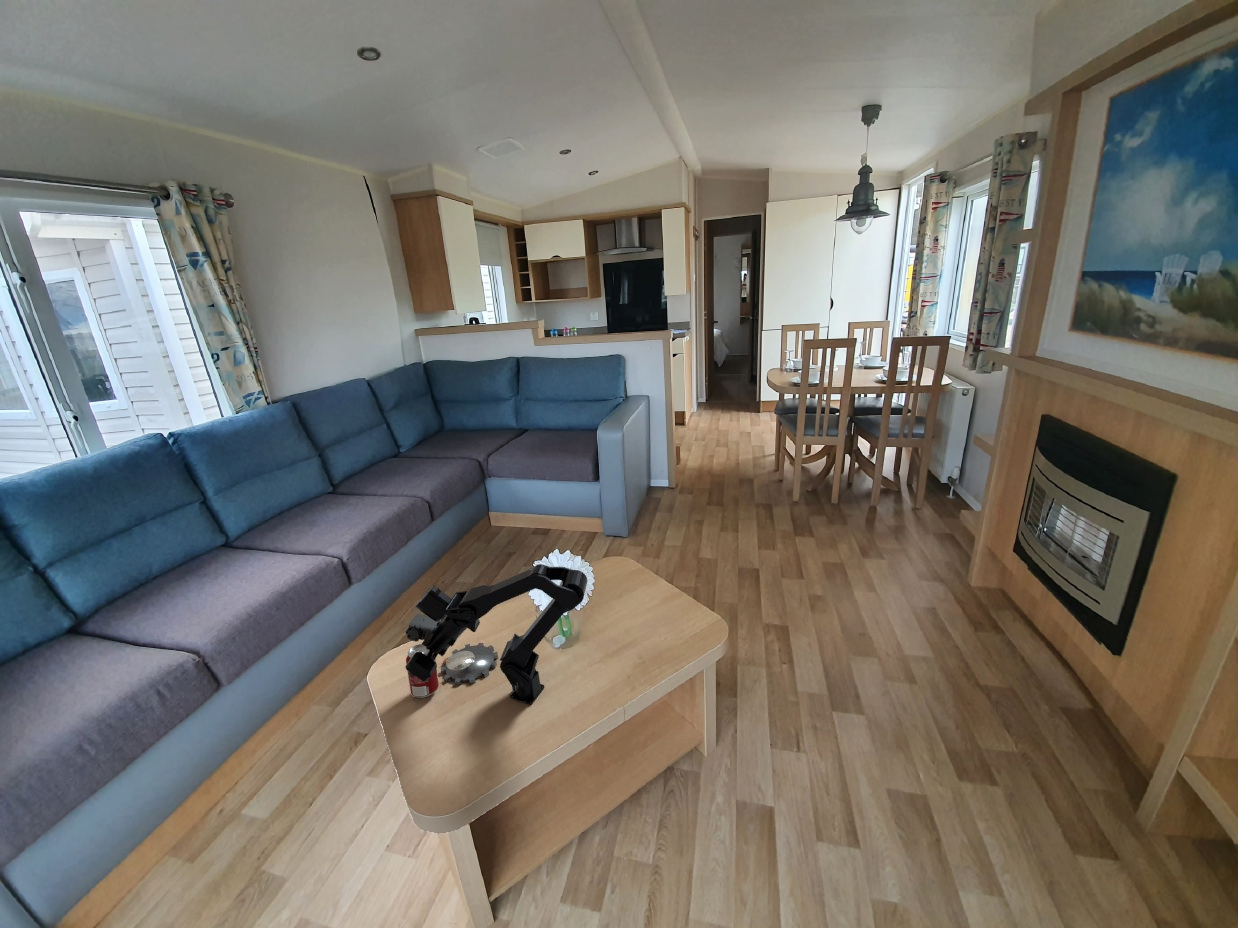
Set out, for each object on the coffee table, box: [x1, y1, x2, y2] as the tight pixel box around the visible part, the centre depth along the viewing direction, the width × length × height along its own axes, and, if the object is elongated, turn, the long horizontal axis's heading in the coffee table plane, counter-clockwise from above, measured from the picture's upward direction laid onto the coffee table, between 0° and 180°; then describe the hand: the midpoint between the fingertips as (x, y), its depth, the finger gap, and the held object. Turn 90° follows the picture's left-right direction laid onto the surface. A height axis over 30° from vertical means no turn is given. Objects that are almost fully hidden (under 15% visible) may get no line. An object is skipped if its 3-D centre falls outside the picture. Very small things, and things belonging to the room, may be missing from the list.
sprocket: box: [440, 642, 499, 686], centre depth 136 cm, size 15×15×1 cm
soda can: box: [405, 643, 440, 699], centre depth 125 cm, size 7×7×12 cm
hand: (416, 665), depth 125 cm, fingers closed on soda can, 6 cm apart
